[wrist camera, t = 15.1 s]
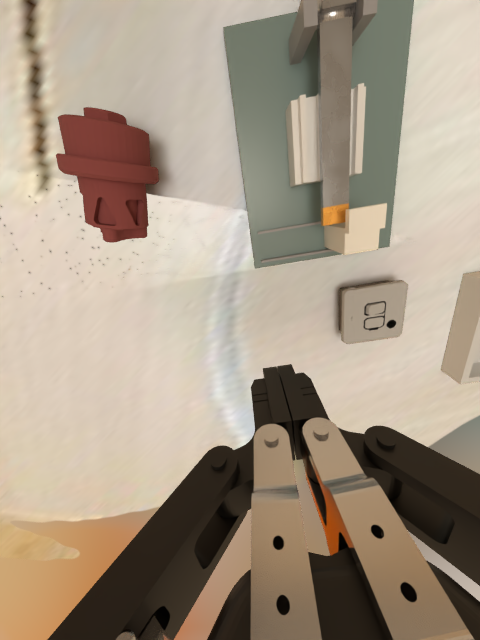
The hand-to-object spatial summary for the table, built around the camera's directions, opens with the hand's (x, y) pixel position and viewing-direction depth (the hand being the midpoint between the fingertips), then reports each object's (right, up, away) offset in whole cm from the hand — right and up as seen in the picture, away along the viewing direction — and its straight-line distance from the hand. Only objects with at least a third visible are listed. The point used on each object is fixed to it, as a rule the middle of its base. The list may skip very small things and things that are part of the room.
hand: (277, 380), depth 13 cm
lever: (+8, +25, +13) cm, 30 cm away
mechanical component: (-17, +22, +20) cm, 34 cm away
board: (+8, +25, +19) cm, 32 cm away
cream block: (+12, +16, +22) cm, 29 cm away
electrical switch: (+23, +7, +28) cm, 36 cm away
